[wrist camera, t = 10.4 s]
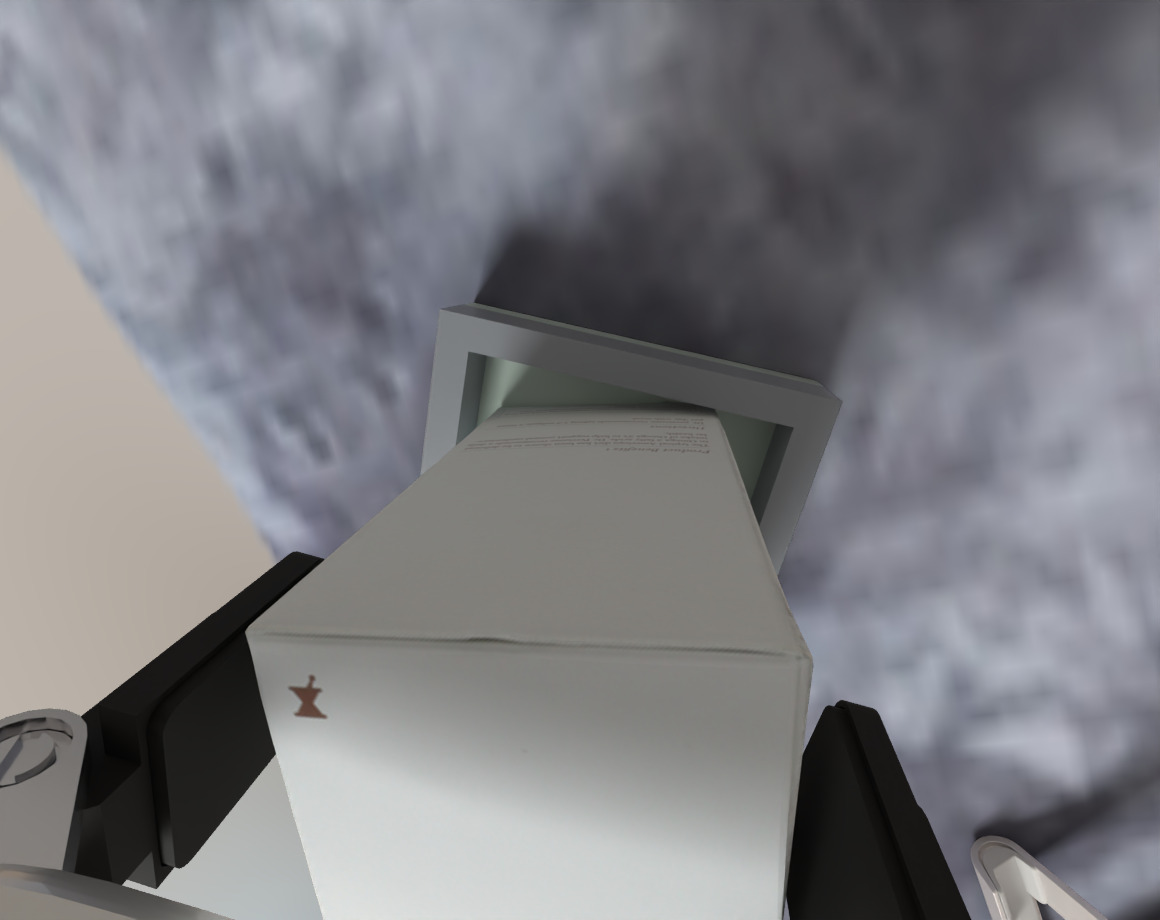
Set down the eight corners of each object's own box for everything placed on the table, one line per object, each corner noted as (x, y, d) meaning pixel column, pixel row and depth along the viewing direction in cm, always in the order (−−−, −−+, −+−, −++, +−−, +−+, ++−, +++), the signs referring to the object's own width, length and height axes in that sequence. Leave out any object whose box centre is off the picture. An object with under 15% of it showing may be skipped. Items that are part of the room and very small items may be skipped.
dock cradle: (473, 302, 19) (439, 309, 17) (816, 380, 18) (842, 401, 16) (434, 591, 23) (401, 636, 20) (715, 666, 22) (722, 724, 20)
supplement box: (514, 596, 22) (324, 998, 10) (496, 401, 19) (217, 620, 7) (716, 604, 20) (779, 1072, 9) (723, 398, 18) (823, 652, 6)
